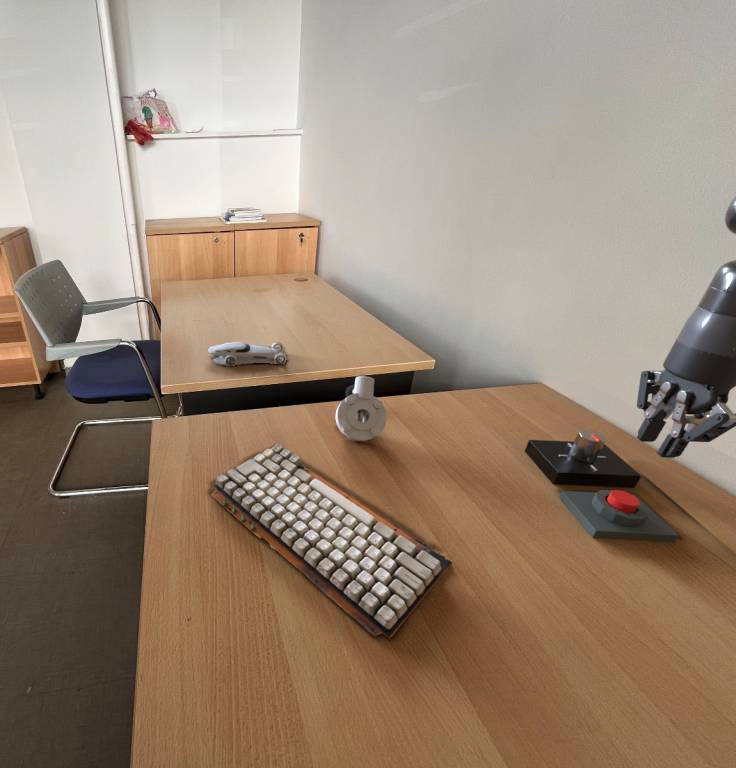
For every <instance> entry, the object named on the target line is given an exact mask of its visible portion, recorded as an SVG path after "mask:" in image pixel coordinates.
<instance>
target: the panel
mask: <svg viewBox="0 0 736 768" xmlns="http://www.w3.org/2000/svg"><path fill="white" fill-rule="evenodd" d="M574 441H575V440H574ZM574 441H572V440H568V441H567V440H546V439H545V440H543V439H542V440H541V439H528V441H527V444H526V447H525V449H524V452H525V454H526V455H527V456H528V458H529V459H531V461H532V462H533V463H534V464H535V465H536V466H537V468H538V469H539V470H540V471H541V472H542V473H543V475H544V476H545V477H546V479H548V481H549V482H550V483H551V484H552V485H558V486H559V485H560V486H581V487H602V488H621V489H622V488H623V489H635V488H636V486H637V484H638V483H639V481H640V479H641V478H642V475H641V474H640V473H639V472H638V471H636V469H635V468H633V467H632V466H631V465H630V464H628V463H627V462H626V461H625V460H624V459H623V458H622V457H621V456H620V455H618V454H617V453H616V452H614V450H612V449H611V448H610V447H609V446H608V445H606V443H604V445H603V447H602V449H601V451H600V453H599V455H598V457H597V459H596V461H595V462H593V463H585V462H581V461H578V460H576V459H574V458H573V457H572V456H571V455H570V454H569V451H570V449H571V447H572V445H573V443H574Z"/></svg>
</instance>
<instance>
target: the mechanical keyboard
mask: <svg viewBox="0 0 736 768" xmlns="http://www.w3.org/2000/svg"><path fill="white" fill-rule="evenodd" d="M213 488H214V490H215V491H213V492H212V493H211V497H212V498H213V499H215V500H216V501H217V502H218V503H219V504H220V505H221V506H223V508H225V509H226V510H227V511H228V512H229V513H231V515H233V516H234V517H235V518H236V519H237V520H238V521H239V522H241V524H243V525H244V526H245V527H246V528H247V529H248V530H249V531H251V532H252V534H254V535H255V536H256V537H258V539H260V540H261V539H264V540H265V541H267V542H268V544H269V547H270V548H271V549H272V550H274V551H275V552H278V554H280V556H282V557H283V558H284V559H285V560H287V561H288V562H289V563H291V564H292V565H293V567H295V568H296V569H298V570H299V571H300V572H301V573H302V574H303V575H305V576H306V577H307V579H308V580H309V581H310V582H311V583H312V584H313V585H315V586H316V587H317V588H318V589H319V590H320V591H321V592H322V593H323V594H324V595H325V596H326V597H327V598H329V599H331V600H332V601H333V602H334V603H335V604H336V605H337V606H338V607H339V608H341V609H342V610H343V611H344V613H345V614H347V615H349V616H350V617H351V619H353V620H354V621H356V622H357V624H358V625H359V626H361V628H362V629H364V630H365V631H367V632H368V633H369V634H370V635H371V636H373V637H374V638H376V637H377V638H378V637H379V636H380V635H384V636H385V637H386V638H388V639H392V638H394V636H395V635H396V634H397V633H398V631H400V629H402V627H403V626H404V624H405V623H406V622H407V620H408V619H409V618H410V617H411V615H412V614H413V613H414V612H415V610H416V609H417V608H418V607H419V605H421V603H422V602H423V601H424V600H425V598H426V597H427V596H428V594H429V593H430V592H431V591H432V590H433V588H434V587H435V586H436V584H437V583H438V582H439V581H440V579H442V577H443V576H444V575H445V573H446V572H447V571H448V569H449V568H450V567H451V566H452V564H453V562H452V561H451V560H450V559H449V558H446V557H445V556H444V555H442V554H439V553H437V552H436V551H434V550H433V549H430V548H428V546H427V544H425V543H423V542H421V541H419V540H418V539H415V538H413V537H412V536H410V534H408V533H406V532H405V531H403V530H401V529H399V528H398V527H396V526H395V525H394V524H393V523H391V522H389V521H388V520H386V519H384V518H383V517H381V516H380V515H379V514H377V513H375V512H374V511H372V510H371V509H369V508H367V506H365V505H363V504H362V503H360V502H359V501H357V500H356V499H354V498H353V497H351V496H350V495H348V494H347V493H345V492H343V491H342V490H341V489H339V488H337V487H336V486H334V485H333V484H331V483H330V482H329V481H327V480H326V479H324V478H322V477H321V476H320V475H318V474H316V473H314V472H313V471H312V470H310V469H309V468H306V467H305V466H304V465H303V462H302V459H301V457H300V456H298V455H296V454H295V453H294V454H292V452H291V451H290V450H289V449H287V448H283V446H282V445H281V444H279V443H276V444H275V445H273V447H272V448H267V449H266V450H264V451H263V452H262V453H258V454H257V455H255V456H254V457H252V458H249V459H248V460H246V461H245V462H243V463H241V464H240V465H238V466H236V468H232V469H229V470H228V471H226V474H221V475H219V476H218V477H216V481H215V485H213Z"/></svg>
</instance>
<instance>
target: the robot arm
mask: <svg viewBox="0 0 736 768" xmlns="http://www.w3.org/2000/svg"><path fill="white" fill-rule="evenodd" d="M724 222H725V223H724V224H725V226H726V229H728V231H730V232H731V233H732V234H734V235H736V196H735V197H734V198H733V199H732V200H731V202H730V203H729V205H728V207H727V208H726V212H725V215H724ZM662 366H663V370H643V371H641V372H640V378H639V385H638V391H637V400H636V407H637V409H640V410H643V417H644V419H643V421H642V423H641V425H640V427H639V428H638V431H637V435H636V439H638V440H639V441H640V442H643V443H644V442H646V443H653V442H655V441H656V440H657V439H658V437H659V436H660V434H661V432H662V431H663V429H664V427H665V425H666V424H667V421H665V420H668V419H669V417H670V416H671V420H672V421H673V423H672V426H671V429H670V433H667V435H666V437H665V438H664V440H663V442H662V444H661V445H660V447H659V448H658V450H657V451H656V454H657V455H658V456H660V457H661V458H663V459H665V458H667V459H671V458H672V459H674V458H676V457H677V458H678V457H680V456H682V455H683V452H684V451H685V450H686V448H687V447H688V446H689V444H690V442H692V443H693V442H694V443H710V442H712V441H714V440H715V439H717V438H719V437H721V436H722V435H723V434H725V433H727V432H729V431H730V430H732V429H733V428H735V427H736V412H735V413H734V412H733V411H732V410H731V409H730V407H729V406H728V405H727V404H728V402H729V395H730V392H731V390H732V389H734V388H736V259H735V260H730V261H728V262H725V263H724V264H721V266H720V267H719V268H718V269H717V270H716V272H715V274H714V276H713V277H712V278H711V281H710V282H709V284H708V286H707V288H706V290H705V292H704V293H703V294H702V297H701V299H700V300H699V302H698V304H697V306H696V307H695V309H694V310H693V311H692V313H691V314H690V315H689V317H688V318H687V319H686V321H685V323H684V324H683V326H682V328H681V330H680V332H679V334H678V336H677V337H676V339H675V341H674V342H673V344H672V346H671V348H670V350H669V352H668V354H667V355H666V358H665V359H664V361H663V363H662ZM649 395H651V398H650V400H649ZM685 428H686V429H685Z"/></svg>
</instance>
